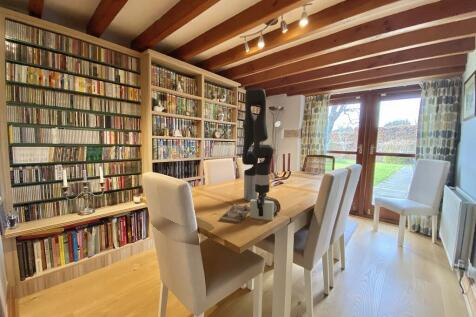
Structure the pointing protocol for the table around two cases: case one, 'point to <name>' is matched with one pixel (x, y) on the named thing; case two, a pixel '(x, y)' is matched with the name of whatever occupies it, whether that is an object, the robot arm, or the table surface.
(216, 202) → the table surface
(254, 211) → the cream rectangular box
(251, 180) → the robot arm
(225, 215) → the hinge panel
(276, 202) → the tin
